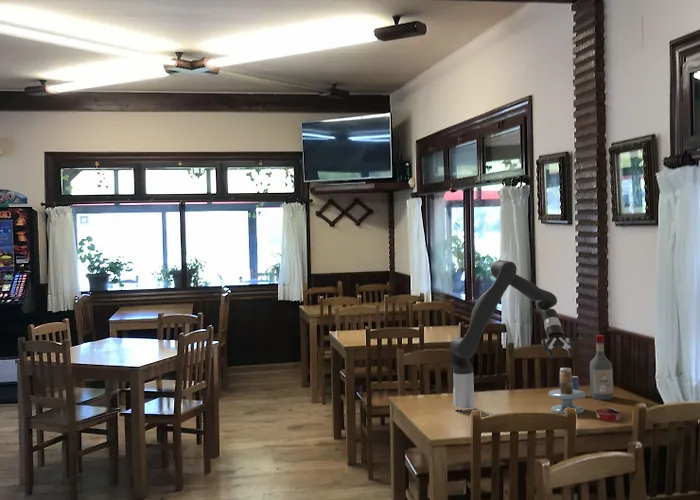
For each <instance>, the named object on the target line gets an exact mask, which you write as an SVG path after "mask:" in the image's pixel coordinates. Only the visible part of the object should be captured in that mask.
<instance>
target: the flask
mask: <svg viewBox="0 0 700 500" xmlns="http://www.w3.org/2000/svg"><path fill="white" fill-rule="evenodd" d="M558 381H559V382H558V385H559V386H558V387H559V388H558V389H560V376H559V377H558ZM579 387H580V384H579V376H577V375H576V376H575V375H572V389H574V390H580V388H579Z"/></svg>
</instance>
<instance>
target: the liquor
mask: <svg viewBox="0 0 700 500" xmlns="http://www.w3.org/2000/svg"><path fill="white" fill-rule="evenodd" d="M604 337H605V335H603V334H598V335H597V334H596V335H595V344H596V353H595V355H594V357H593V358H592V359H591V361H590V362H589V384H590V385H589V387H590V396H591V398H592V399H594V400H597V401H599V400H600V401H603V400H605V401H606V400H612V399H613V398H614V381H613V380H614V379H613V378H614V377H613V376H614V375H613V374H614V373H613V364H612V362H611V360H609V359H608V358H607V356H606V355H605V346H604V345H605V338H604ZM598 399H599V400H598Z"/></svg>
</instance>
